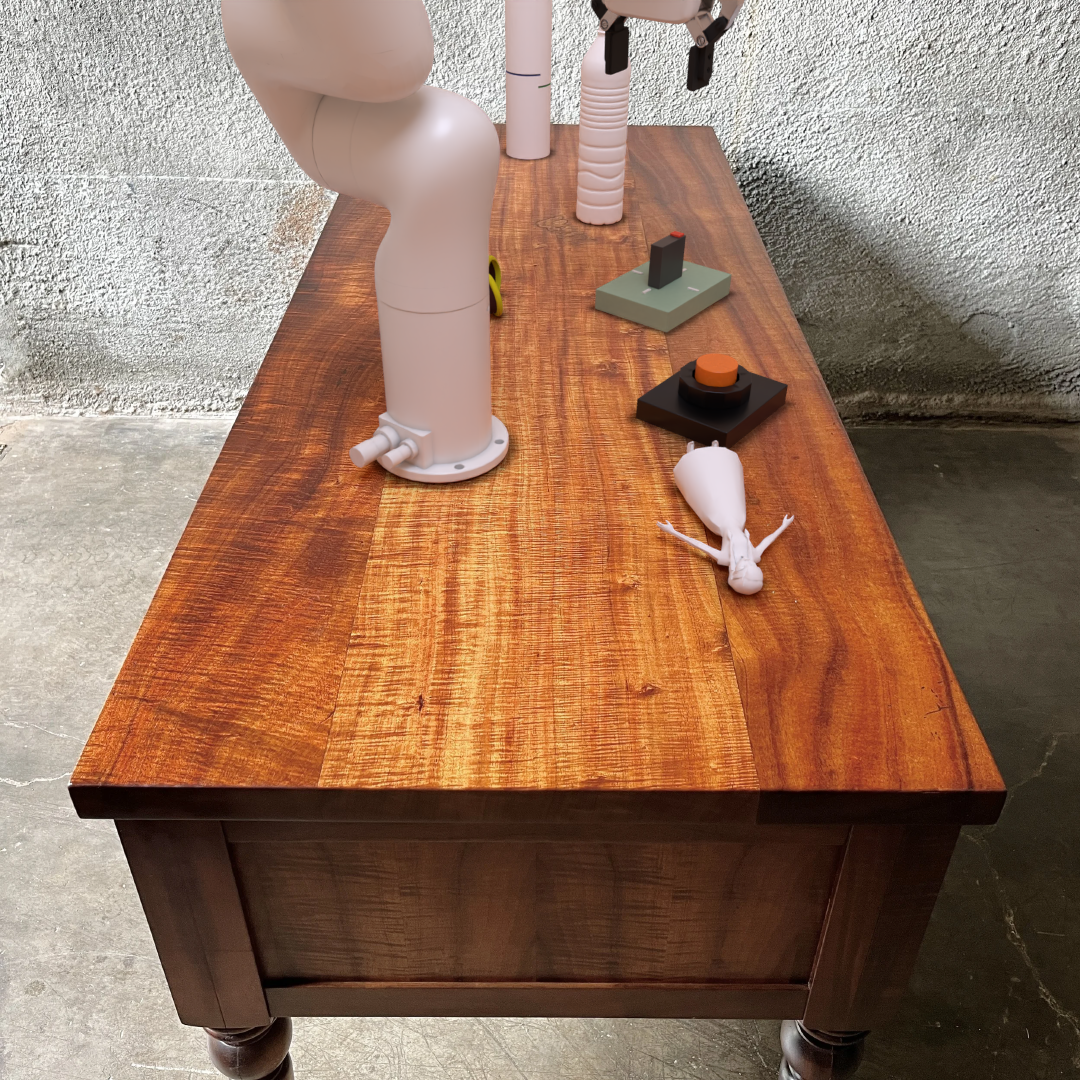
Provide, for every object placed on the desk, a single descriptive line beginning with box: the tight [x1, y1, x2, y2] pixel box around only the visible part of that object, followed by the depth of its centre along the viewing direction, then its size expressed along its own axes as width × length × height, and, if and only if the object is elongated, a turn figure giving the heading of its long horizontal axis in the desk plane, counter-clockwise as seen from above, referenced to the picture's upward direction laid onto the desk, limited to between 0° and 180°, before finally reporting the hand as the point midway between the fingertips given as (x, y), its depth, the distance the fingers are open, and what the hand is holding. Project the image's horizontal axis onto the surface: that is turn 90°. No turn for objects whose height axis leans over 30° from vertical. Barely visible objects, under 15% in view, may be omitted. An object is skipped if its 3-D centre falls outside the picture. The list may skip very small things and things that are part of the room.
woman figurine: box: [655, 440, 795, 596], centre depth 86 cm, size 12×4×18 cm
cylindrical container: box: [504, 0, 553, 160], centre depth 162 cm, size 7×7×25 cm
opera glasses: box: [489, 254, 504, 317], centre depth 121 cm, size 10×5×5 cm, turn 3°
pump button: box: [695, 352, 739, 387], centre depth 100 cm, size 4×4×2 cm
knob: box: [648, 230, 687, 289], centre depth 121 cm, size 5×2×5 cm, turn 142°
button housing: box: [635, 357, 789, 450], centre depth 102 cm, size 12×10×4 cm
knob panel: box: [594, 259, 733, 333], centre depth 123 cm, size 14×10×3 cm
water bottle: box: [575, 22, 632, 226], centre depth 139 cm, size 9×6×25 cm
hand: (656, 79), depth 103 cm, fingers open, 9 cm apart
